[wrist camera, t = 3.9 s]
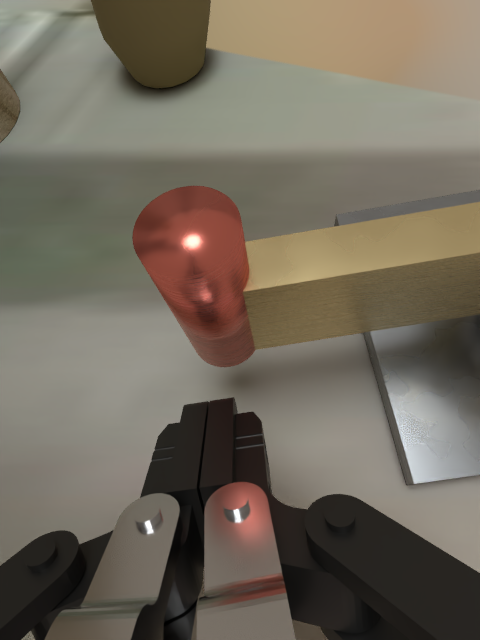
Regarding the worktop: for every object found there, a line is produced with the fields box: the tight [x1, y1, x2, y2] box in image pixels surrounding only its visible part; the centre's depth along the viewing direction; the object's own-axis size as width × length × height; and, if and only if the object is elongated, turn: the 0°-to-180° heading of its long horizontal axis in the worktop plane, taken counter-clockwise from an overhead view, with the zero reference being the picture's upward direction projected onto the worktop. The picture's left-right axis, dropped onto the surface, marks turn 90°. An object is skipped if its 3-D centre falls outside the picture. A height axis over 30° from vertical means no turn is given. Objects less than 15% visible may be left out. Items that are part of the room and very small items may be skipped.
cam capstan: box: [133, 186, 480, 367], centre depth 12 cm, size 19×8×6 cm, turn 97°
